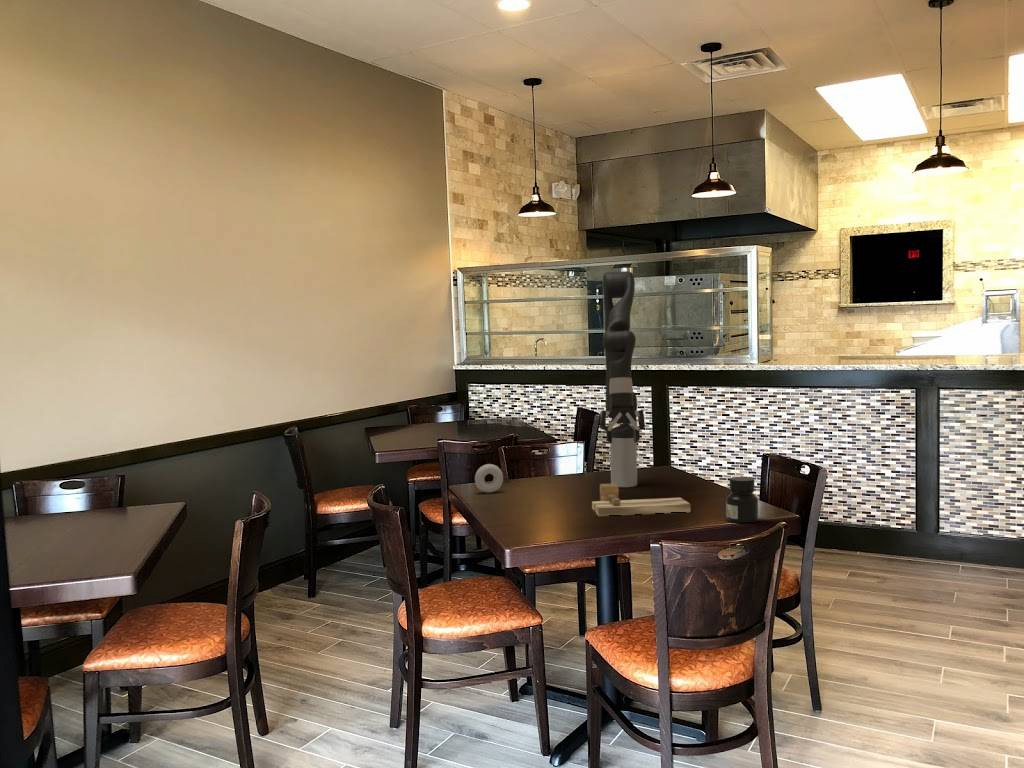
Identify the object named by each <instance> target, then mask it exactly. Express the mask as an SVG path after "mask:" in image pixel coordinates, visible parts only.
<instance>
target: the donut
mask: <svg viewBox="0 0 1024 768" xmlns="http://www.w3.org/2000/svg"><path fill="white" fill-rule="evenodd" d="M489 474H490V475H492V477H493V480H492V481H490V482H486V480H485V478H486V476H487V475H489ZM503 482H504V475H503V472H502V470H501V468H499V466H498V465H495V464H492V463H487V464H484V465H482V466H480V467H479V468H478V469H477V471H476V472H475V475H474V483H475V485H476V487H477V488H478V490H479V491H481V492H483V493H485V494H486V493H487V494H490V493H494V492H497V490H499V489H500V488H501V486H502V484H503Z"/></svg>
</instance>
